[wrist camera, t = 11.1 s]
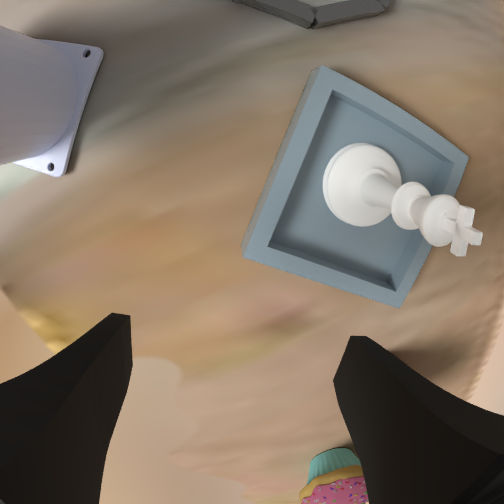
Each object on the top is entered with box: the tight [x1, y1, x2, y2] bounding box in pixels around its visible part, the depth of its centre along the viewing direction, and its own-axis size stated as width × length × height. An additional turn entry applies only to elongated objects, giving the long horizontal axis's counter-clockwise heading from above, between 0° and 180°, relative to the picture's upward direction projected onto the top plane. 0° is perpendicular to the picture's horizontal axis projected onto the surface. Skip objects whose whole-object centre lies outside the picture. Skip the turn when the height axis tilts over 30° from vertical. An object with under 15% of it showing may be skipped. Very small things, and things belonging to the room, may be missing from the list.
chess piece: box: [323, 143, 483, 256], centre depth 13 cm, size 5×5×10 cm
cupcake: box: [299, 448, 369, 504], centre depth 23 cm, size 9×8×12 cm
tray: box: [241, 65, 469, 308], centre depth 18 cm, size 11×11×2 cm
